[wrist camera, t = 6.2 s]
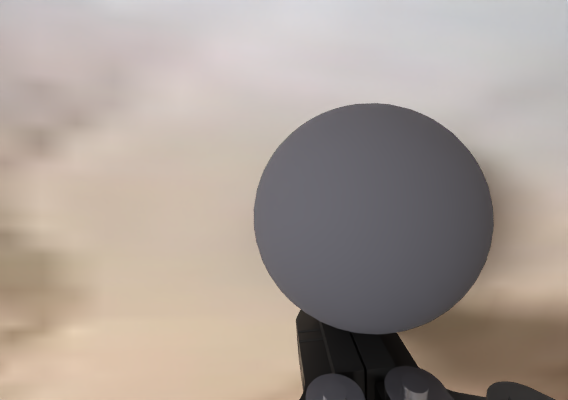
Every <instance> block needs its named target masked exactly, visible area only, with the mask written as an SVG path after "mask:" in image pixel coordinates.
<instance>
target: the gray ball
mask: <svg viewBox="0 0 568 400" xmlns="http://www.w3.org/2000/svg"><path fill="white" fill-rule="evenodd" d="M493 225H494V224H493V207H492V201H491V196H490V192H489V188H488V185H487V182H486V180H485V177H484V175H483V173H482V171H481V169H480V167H479V165H478V163H477V162H476V160H475V158H474V157H473V155H472V154H471V152H470V151H469V150H468V149H467V148H466V147H465V146H464V145H463V143H462V142H461V141H460V140H459V139H458V138H457V137H456V136H455V135H454V134H453V133H452V132H450V131H449V130H448V129H446V128H445V127H444V126H442V125H441V124H439V123H438V122H436V121H435V120H433V119H431V118H429V117H427V116H425V115H423V114H421V113H418V112H416V111H413V110H411V109H407V108H402V107H398V106H394V105H389V104H378V103H373V104H355V105H349V106H344V107H340V108H336V109H333V110H330V111H328V112H325V113H322V114H320V115H318V116H316V117H314V118H312V119H311V120H309V121H307V122H306V123H304V124H303V125H301V126H300V127H299V128H297V129H296V130H295V131H294V132H293V133H291V134H290V135H289V136H288V137H287V139H286V140H285V141H284V142H283V143H282V144H281V145H280V146H279V147H278V148H277V150H276V151H275V152H274V154H273V155H272V157H271V159H270V160H269V162H268V164H267V166H266V168H265V169H264V171H263V174H262V177H261V180H260V182H259V185H258V188H257V193H256V199H255V206H254V230H255V236H256V242H257V245H258V248H259V251H260V254H261V257H262V260H263V263H264V265H265V267H266V269H267V271H268V273H269V274H270V276H271V277H272V279H273V280H274V282H275V283H276V285H277V286H278V287H279V289H280V290H281V291H282V292H283V293H284V294H285V295H286V297H287V298H288V299H289V300H290V301H291V302H293V303H294V304H295V305H296V306H297V307H299V308H300V309H301V310H302V311H304V312H305V313H307V314H308V315H310V316H312V317H313V318H315V319H317V320H319V321H321V322H323V323H325V324H328V325H330V326H333V327H335V328H338V329H342V330H346V331H350V332H354V333H363V334H389V333H396V332H401V331H406V330H409V329H412V328H415V327H418V326H421V325H424V324H426V323H428V322H430V321H432V320H434V319H436V318H437V317H439V316H440V315H442V314H444V313H445V312H447V311H448V310H449V309H451V308H452V307H453V306H454V305H455V304H456V303H457V302H458V301H460V300H461V299H462V298H463V297H464V296H465V294H466V293H467V292H468V291H469V289H470V288H471V287H472V285H473V284H474V283H475V281H476V280H477V278H478V276H479V274H480V272H481V270H482V268H483V266H484V264H485V262H486V259H487V256H488V253H489V250H490V246H491V240H492V233H493Z"/></svg>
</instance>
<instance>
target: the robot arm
mask: <svg viewBox="0 0 568 400" xmlns="http://www.w3.org/2000/svg"><path fill="white" fill-rule="evenodd" d="M296 328H297V341H298V354H299V363H300V370H301V378H302V386H303V394H302V396H301V398H300V400H555V399H553V398H551V397H549V396H547V395H544V394H542V393H540V392H538V391H536V390H534V389H532V388H529V387H527V386H524V385H521V384H518V383H514V382H497V383H494V384H492V385H491V386H490V387H489V388H488V390H487V395H486V397H480V396H475V395H469V394H463V393H458V392H454V391H450V390H448V389H446V388H445V387H444V386H443V385H442V383H441V382H440V381H439V380H438V379H437V378H436V377H435V376H433V375H432V374H430V373H429V372H427V371H425V370H423V369H420V368H418V366H417V364H416V363H415V361H414V360H413V358H412V356H411V355H410V353H409V352H408V350H407V348H406V347H405V345H404V344H403V342H402V340H401V339H400V337H399V336H398V334H397V333H389V334H363V333H354V332H350V331H346V330H342V329H338V328H335V327H333V326H330V325H328V324H325V323H323V322H321V321H319V320H317V319H315V318H313V317H312V316H310V315H308V314H307V313H305V312H304V311H302V310H300V312H299V314H298V316H297V319H296Z"/></svg>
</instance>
